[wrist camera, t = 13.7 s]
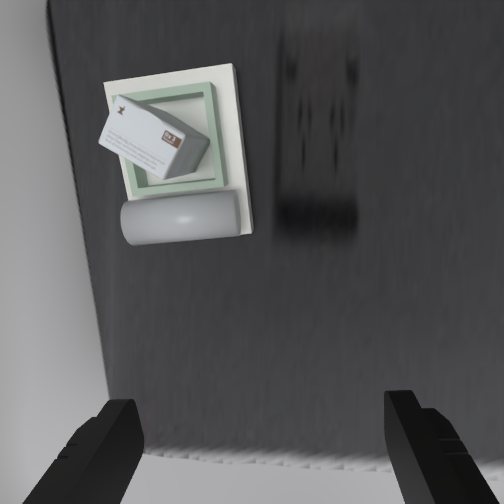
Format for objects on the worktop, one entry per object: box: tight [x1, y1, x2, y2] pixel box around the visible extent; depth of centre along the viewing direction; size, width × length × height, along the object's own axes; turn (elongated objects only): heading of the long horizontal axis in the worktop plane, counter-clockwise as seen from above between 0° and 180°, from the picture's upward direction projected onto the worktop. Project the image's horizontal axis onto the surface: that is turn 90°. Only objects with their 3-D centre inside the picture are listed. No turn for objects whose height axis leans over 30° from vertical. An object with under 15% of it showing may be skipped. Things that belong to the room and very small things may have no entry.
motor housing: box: [104, 63, 254, 245], centre depth 38 cm, size 14×18×8 cm
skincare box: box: [99, 94, 210, 180], centre depth 32 cm, size 6×4×12 cm
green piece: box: [111, 81, 228, 197], centre depth 37 cm, size 10×10×3 cm
